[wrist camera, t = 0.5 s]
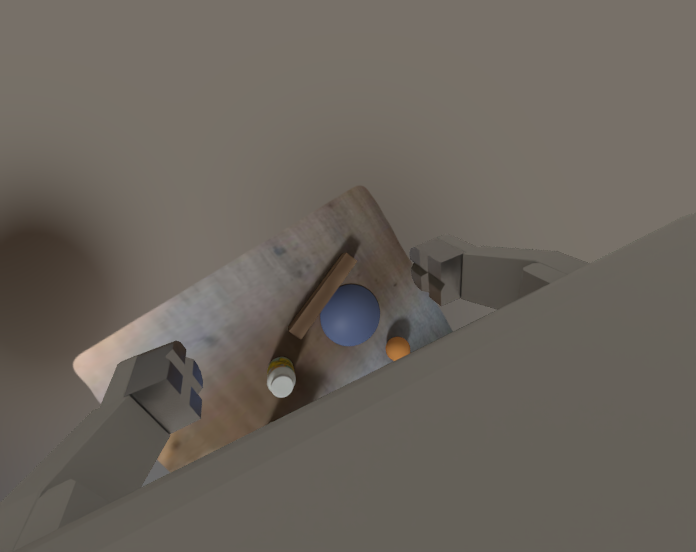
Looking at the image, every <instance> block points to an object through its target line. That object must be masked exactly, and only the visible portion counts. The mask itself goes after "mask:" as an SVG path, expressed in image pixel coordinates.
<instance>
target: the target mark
mask: <svg viewBox="0 0 696 552" xmlns="http://www.w3.org/2000/svg"><path fill="white" fill-rule="evenodd" d="M379 318H380V309H379V305H378V302H377V300H376V298H375V297H374V295H373V294H372V293H371V292H370V291H369V290H367V289H366V288H364V287H362V286H358V285H344V286H341V287H338V289H337V290H336V292H335V293H334V294H333V296H332V297H331V299H330V300H329V301H328V303H327V304H326V306H325V307H324V308H323V310H322V311H321V313H320V320H321V325H322V328H323V330H324V332H325V334H326V335H327V336H328V337H329V338H330V339H331V340H332V341H334V342H335V343H337V344H340V345H343V346H354V345H358V344H361V343H363V342H364V341H366V340H367V339H369V338H370V337H371V336H372V334H373V333H374V332H375V330H376V328H377V326H378V323H379Z"/></svg>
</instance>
